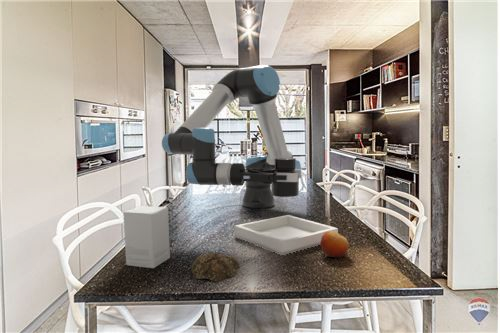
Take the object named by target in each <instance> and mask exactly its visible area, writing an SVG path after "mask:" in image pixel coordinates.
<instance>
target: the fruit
mask: <svg viewBox="0 0 500 333" xmlns="http://www.w3.org/2000/svg"><path fill="white" fill-rule="evenodd" d="M349 247H350V242H348V239H347V237H345V236H343V235H342V234H341V233H339V232H338V233H336V232H334V231H333V232H329V231H328V232H325V233H324V234H323V236H322V239H321V242H320V249H321V251H322V253H323V254H324V257H323V258H324V259H326V258H327V257H332V258H343V257H344V256H345V255H346V254H347V252H348V250H349Z"/></svg>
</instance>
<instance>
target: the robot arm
mask: <svg viewBox="0 0 500 333" xmlns="http://www.w3.org/2000/svg"><path fill="white" fill-rule="evenodd" d="M280 85H281V81H280V77H279V75H278V72H277V71H276V69H274V68H273V67H272V66H271V65H255V66H248V67H239V68H236V69H234V70H231V71H230V72H228V73H227V74H226V75H224V76H223V77H222V78H221V79H219V81H218V82H217V83H216V84H215V85H214V86H213V87H212V92H211V93H210V94H209V95H208V96H207V97H206V98H205V99H204V100H203V101H202V102H201V103H200V105H199V106H198V107H197V108H196V109H195V110H194V111H193V112H192V113H191V115H190V116H188V117H187V119H186V120H185V121H184V122H183V123H182V124H181V125H180V126H179V127H178V128H177V130H175V131H174V132H169V133H166V134H164V135H163V137H162V139H161V147H162V149H163V151H164V152H165V153H167V154H172V155H176V156H177V155H185V156H187V155H188V156H192V162H189V163H188V164H187V166H186V171H185V178H186V181H187V182H188V183H189V184H192V185H198V186H199V185H200V186H205V185H206V186H222V188H225V187H226V186H231V185H232V186H238V187H242V186H244V184H245V191H244V194H243V198H242V201H241V202H242V204H241V205H242V207H245V208H252V209H265V208H270V207H274V206H275V198H274V195H272V182H273V184H276V180H277V182H298V176H299V179H301V178H302V165H301V162H300V161H299V160H298V159H296V168H295V170H294V172H296V173H277V175H276V174H275V173H274V172H276V170H275V158H294V155H293V153H292V151H289V150H288V147H287V144H286V143H287V142H286V139H285V136H284V132H283V128H282V124H281V121H280V117H279V113H278V112H279V111H278V109H277V105H276V102H275V101H276V99H277V97H278V95H277V94H278V92H279V91H280V88H281V86H280ZM240 98H247V99H248V103H249V105H251V106H253V107H254V110H255V115H256V117H257V121H258V124H259V128H260V131H261V134H262V137H263V141H264V144H265V148H266V151H267V155H266V154H265V155H260V156H258V155H257V156H251V157H247V158H246V160H245V165H244V163H241V162H233V163H231V162H216V139H215V138H216V135H215V130H214V128H212V127H209V125H210V124H211V123H212V122H213V121H214V120H215V118H216V117H218V116H219V114H220V113H221V112H222V111H223V110H224V108H225V107H227V105H230V104H232V103H233V102H234V101H236V100H237V99H240Z"/></svg>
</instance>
